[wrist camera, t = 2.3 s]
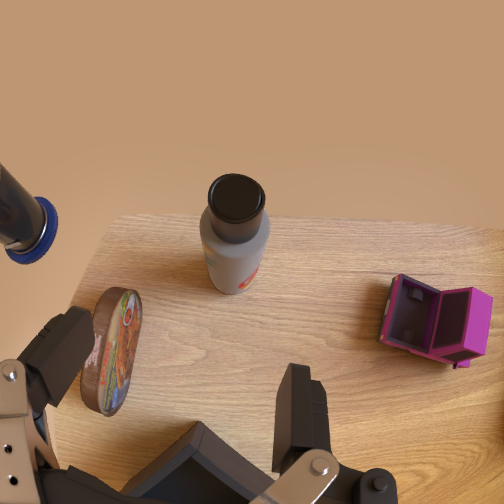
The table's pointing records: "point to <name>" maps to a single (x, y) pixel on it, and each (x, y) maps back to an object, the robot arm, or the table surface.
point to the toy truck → (436, 321)
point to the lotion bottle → (234, 232)
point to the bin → (199, 473)
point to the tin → (112, 350)
